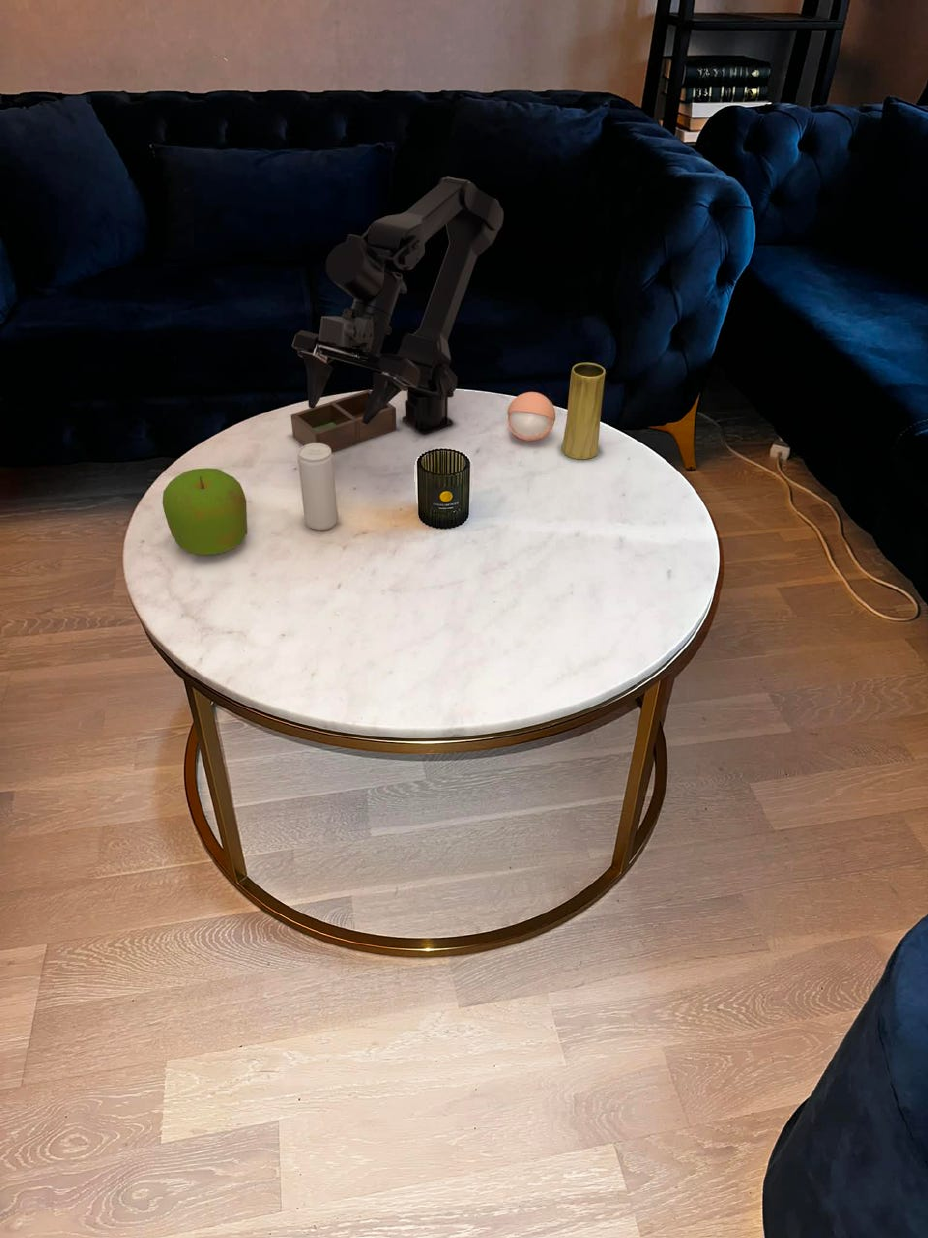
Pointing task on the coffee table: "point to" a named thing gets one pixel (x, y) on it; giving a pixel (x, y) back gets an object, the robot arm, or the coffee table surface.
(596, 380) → the vase
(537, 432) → the toy ball
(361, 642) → the coffee table surface
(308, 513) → the beverage can
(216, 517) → the apple
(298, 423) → the brown wooden divided box
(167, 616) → the coffee table surface
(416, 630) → the coffee table surface
